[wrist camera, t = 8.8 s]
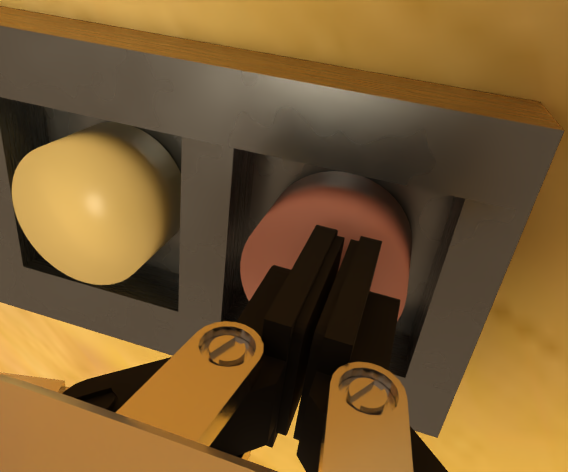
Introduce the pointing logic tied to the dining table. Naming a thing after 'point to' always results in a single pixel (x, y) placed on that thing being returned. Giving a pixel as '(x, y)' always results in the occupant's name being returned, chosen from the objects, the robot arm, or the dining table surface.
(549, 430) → the dining table surface
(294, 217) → the brick button
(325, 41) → the dining table surface
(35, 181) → the mustard button
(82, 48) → the button panel
